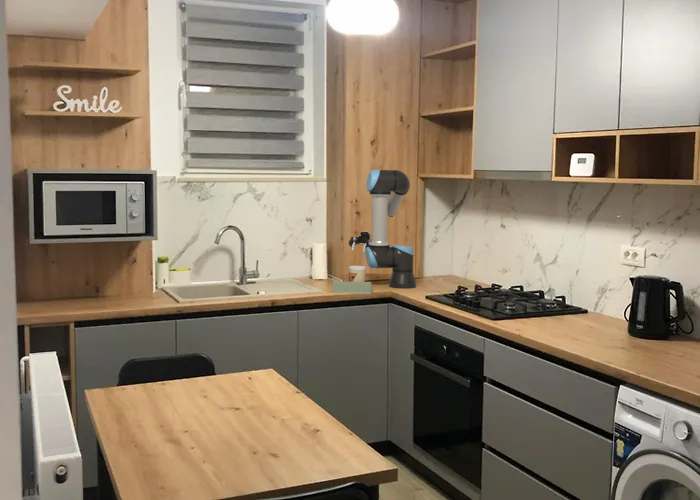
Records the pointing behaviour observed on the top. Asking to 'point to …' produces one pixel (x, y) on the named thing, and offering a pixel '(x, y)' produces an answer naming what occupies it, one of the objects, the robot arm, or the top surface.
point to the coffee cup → (357, 273)
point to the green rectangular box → (352, 287)
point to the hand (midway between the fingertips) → (358, 248)
